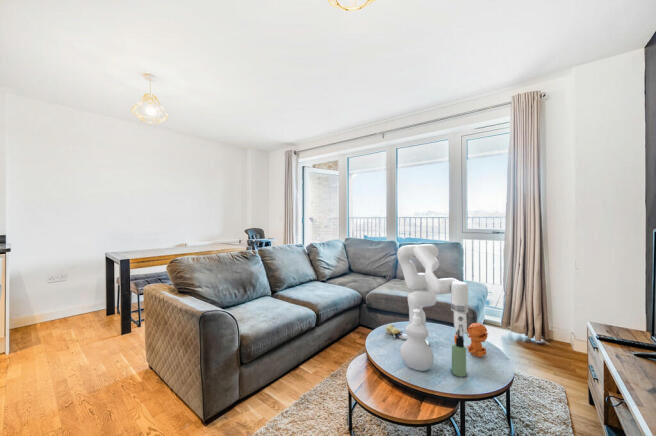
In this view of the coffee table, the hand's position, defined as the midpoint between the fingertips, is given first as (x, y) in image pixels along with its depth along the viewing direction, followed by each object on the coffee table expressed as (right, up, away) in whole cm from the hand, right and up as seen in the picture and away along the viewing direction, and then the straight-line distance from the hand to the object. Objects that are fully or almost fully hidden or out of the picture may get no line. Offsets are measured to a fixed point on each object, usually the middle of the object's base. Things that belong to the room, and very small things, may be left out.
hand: (459, 344), depth 132 cm
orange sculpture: (+19, -15, +18) cm, 30 cm away
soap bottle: (-19, -15, +6) cm, 25 cm away
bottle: (0, -14, 0) cm, 14 cm away
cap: (0, +1, 0) cm, 1 cm away
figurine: (-21, -15, +41) cm, 48 cm away
